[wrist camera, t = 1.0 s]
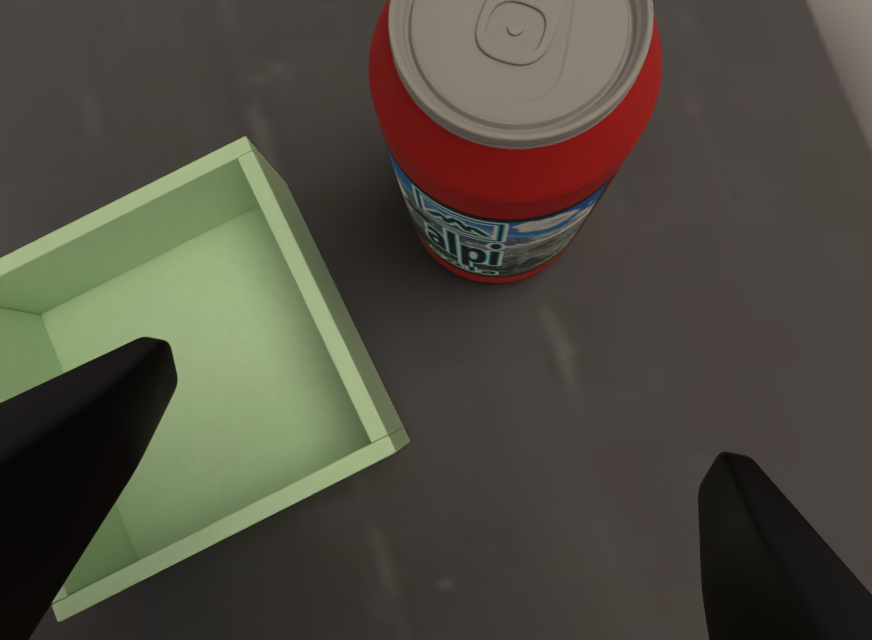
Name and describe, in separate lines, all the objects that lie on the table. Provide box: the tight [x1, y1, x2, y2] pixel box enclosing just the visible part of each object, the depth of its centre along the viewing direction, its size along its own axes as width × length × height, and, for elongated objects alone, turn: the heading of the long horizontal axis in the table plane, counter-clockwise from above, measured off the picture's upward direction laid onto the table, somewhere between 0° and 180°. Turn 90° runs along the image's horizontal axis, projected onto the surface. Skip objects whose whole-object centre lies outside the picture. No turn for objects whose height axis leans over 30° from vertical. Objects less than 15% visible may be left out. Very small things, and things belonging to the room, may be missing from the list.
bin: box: [0, 137, 410, 622], centre depth 21 cm, size 12×12×4 cm
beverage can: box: [369, 0, 662, 283], centre depth 18 cm, size 7×7×12 cm
